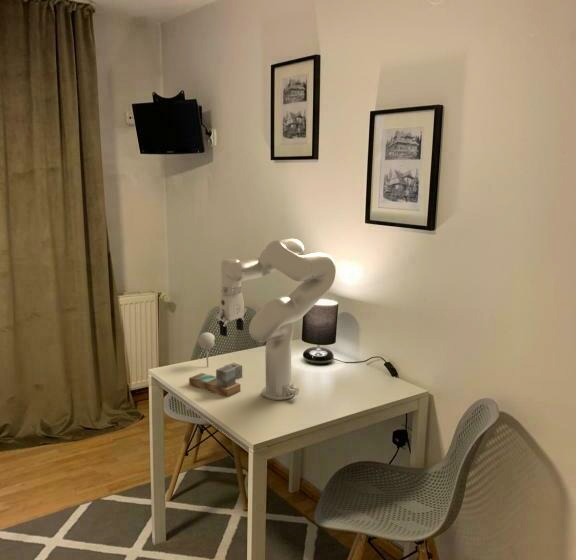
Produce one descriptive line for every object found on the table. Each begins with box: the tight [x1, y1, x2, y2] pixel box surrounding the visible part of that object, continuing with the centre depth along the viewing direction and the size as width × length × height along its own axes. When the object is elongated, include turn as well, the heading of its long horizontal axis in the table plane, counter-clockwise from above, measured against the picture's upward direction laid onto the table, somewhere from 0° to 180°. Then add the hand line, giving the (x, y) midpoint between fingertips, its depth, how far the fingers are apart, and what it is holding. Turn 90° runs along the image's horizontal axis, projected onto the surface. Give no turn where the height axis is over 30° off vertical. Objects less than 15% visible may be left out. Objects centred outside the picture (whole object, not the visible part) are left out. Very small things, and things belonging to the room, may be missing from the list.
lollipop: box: [197, 331, 216, 368], centre depth 237 cm, size 7×7×15 cm
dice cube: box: [224, 362, 243, 380], centre depth 226 cm, size 5×5×5 cm
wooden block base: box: [188, 365, 241, 398], centre depth 214 cm, size 20×7×9 cm, turn 54°
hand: (231, 332), depth 223 cm, fingers open, 9 cm apart
